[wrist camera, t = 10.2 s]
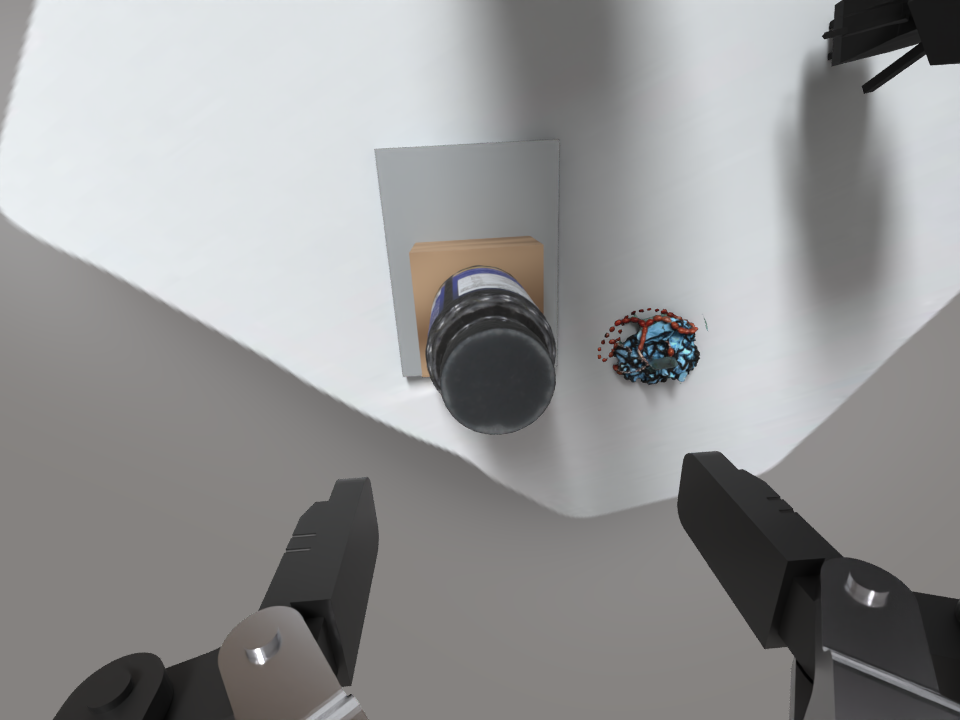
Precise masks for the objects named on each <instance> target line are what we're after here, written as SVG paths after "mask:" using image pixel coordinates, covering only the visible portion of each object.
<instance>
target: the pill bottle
mask: <svg viewBox="0 0 960 720" xmlns="http://www.w3.org/2000/svg"><path fill="white" fill-rule="evenodd" d="M425 357H426V363H427V370H428V373H429V375H430V377H431V380H432V382H433V384H434V386H435V387H436V389H437V390H438V391H439V393H440V394H441V395H442V398H443V401H444V403H445V406H446V407H447V409H448V410H449V412H450V413H451V414H452V416H453V417H454V418H455V419H456V420H457V421H458V422H459V423H461V424H462V425H464V426H465V427H467V428H469V429H471V430H473V431H476V432H480V433H485V434H499V435H501V434H507V433H512V432H515V431H518V430H520V429H522V428H524V427H526V426H528V425H530V424H531V423H533V422H534V421H535V420H536V419H538V417H539V416H540V415H541V414H542V413H543V412H544V411H545V409H546V408H547V406H548V405H549V403H550V401H551V398H552V396H553V392H554V389H555V385H556V381H555V376H556V375H555V369H554V365H555V357H556V342H555V338H554V336H553V333H552V329H551V327H550V325H549V323H548V322H547V320H546V317H545V316H544V315H543V313H542V312H541V311H540V310H539V308H538V307H537V306H536V305H535V303H534V302H533V301H532V299H531V298H530V297H529V295H528V294H527V293H526V291H525V290H524V288H523V287H522V286H521V284H520V283H519V282H518V281H517V280H516V279H515V278H514V277H513V276H512V275H511V274H509V273H507V272H505V271H503V270H502V269H499V268H497V267H491V266H482V265H475V266H471V267H468V268H465V269H462V270H460V271H458V272H457V273H456V274H454V275H452V276H451V277H449V278H448V279H447V280H446V281H445V282H444V283H443V284H442V285H441V287H440V288H439V290H438V292H437V293H436V295H435V298H434V300H433V305H432V309H431V317H430V324H429V331H428V338H427V345H426V350H425Z"/></svg>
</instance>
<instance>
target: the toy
mask: <svg viewBox="0 0 960 720" xmlns="http://www.w3.org/2000/svg"><path fill="white" fill-rule="evenodd" d="M830 28H834V30H833V31H829V32H825V33H824V34H823V36H822V37H823V38H824V39H828V38H832V37H833V51H832V52H831V53H829V54H828V60H831V59H832V66H835V65H839V64H843V63H847V62H851V61H855V60H859V59H863V58H867V57H871V56H875V55H879V54H883V53H887V52H891V51H895V50H898V49H901V48H905V47H908V46H912V45H915V44H918V45H917V46H915V47H914V48H913V49H911V50H910V51H909V52H907V53H906V54H905V55H903V56H902V57H901V58H899V59H898V60H896V61H895V62H894V63H892V64H891V65H890V66H888V67H887V68H886V69H884V70H883V71H882V72H880V73H879V74H878V75H876V76H875V77H873V78H872V79H871V80H869V81H868V82H867V83H865V84H864V85H863V86H862V88H863V93H864V94H865V93H869V92H873V91H875V90H876V89H878V88H879V87H880V86H882V85H883V84H885V83H886V82H887V81H889V80H890V79H892V78H893V77H895V76H896V75H897V74H899V73H900V72H902V71H903V70H904V69H906V68H907V67H909V66H910V65H912V64H913V63H914V62H916V61H917V60H919V59H920V58H922V57H923V56H924V55H927V58H928V61H929V64H930V65H944V64H959V63H960V0H842V1H840V2H839V3H837V4H836V5H835V13H834V20H833V21H831V22H830Z"/></svg>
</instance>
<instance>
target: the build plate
mask: <svg viewBox="0 0 960 720" xmlns="http://www.w3.org/2000/svg"><path fill="white" fill-rule="evenodd" d="M374 150H375V158H376V166H377V174H378V182H379V190H380V198H381V206H382V214H383V222H384V230H385V238H386V246H387V254H388V262H389V270H390V278H391V286H392V294H393V302H394V310H395V318H396V326H397V334H398V342H399V350H400V358H401V366H402V374H403V377H410V376H422V369H421V360H420V351H419V341H418V332H417V323H416V313H415V304H414V295H413V286H412V276H411V267H410V258H409V252H410V251H411V249H412V247H413V246H414V244H415V243H419V242H435V241H452V240H468V239H485V238H501V237H517V236H531V237H533V238H534V239H536V240H537V241H539V242H540V243H542V244H543V245H544V316H545V317H546V320H547V322H548V323H549V325H550V327H551V329H552V333H553V336H554V338H555V342H556V357H555V365H554V366H557V318H558V222H559V139H552V140H533V141H515V142H496V143H477V144H458V145H440V146H421V147H402V148H383V149H374Z"/></svg>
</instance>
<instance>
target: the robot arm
mask: <svg viewBox="0 0 960 720" xmlns="http://www.w3.org/2000/svg"><path fill="white" fill-rule="evenodd" d="M677 507H678V514H679V518H680V521H681V524H682V526H683V528H684V529H685V531H686V532H687V534H688V535H689V537H690V538H691V540H692V541H693V543H694V544H695V546H696V547H697V549H698V550H699V552H700V553H701V555H702V556H703V558H704V559H705V561H706V562H707V564H708V565H709V567H710V568H711V570H712V571H713V573H714V574H715V576H716V577H717V579H718V580H719V582H720V583H721V585H722V586H723V588H724V589H725V591H726V592H727V594H728V595H729V597H730V598H731V600H732V601H733V603H734V604H735V606H736V607H737V608H738V610H739V612H740V613H741V614H742V616H743V617H744V619H745V621H746V622H747V623H748V625H749V627H750V628H751V630H752V631H753V632H754V634H755V635H756V637H757V638H758V640H759V641H760V643H761V644H762V646H763V647H764V649H769V648H780V647H788V648H789V650H790V651H791V652H792V654H793V655H794V659H793V662H792V667H791V685H790V709H789V720H960V599H954V598H948V597H942V596H936V595H930V594H924V593H918V592H912V591H911V590H910V589H909V588H908V587H907V586H906V585H905V584H903V582H902V581H900V580H899V579H898V578H896V577H895V576H893V575H892V574H890V573H889V572H887V571H885V570H883V569H882V568H879V567H877V566H875V565H873V564H870V563H867V562H865V561H862V560H858V559H853V558H845V557H843V556H842V555H841V554H840V553H839V552H838V551H837V550H835V549H834V548H833V547H832V546H831V545H830V544H829V543H828V542H827V541H826V540H825V539H824V538H823V537H822V536H821V535H820V534H819V533H818V532H817V531H816V530H815V529H814V528H812V527H811V526H810V525H809V524H808V523H807V522H806V521H805V520H804V519H803V518H802V517H801V516H800V515H799V514H798V513H797V512H794V511H793V508H792V507H791V506H790V505H788V503H786V502H785V501H784V500H783V499H782V500H781V499H780V496H779V495H778V494H777V493H776V492H775V491H774V490H773V489H772V488H771V487H770V486H769V485H768V484H767V483H766V482H764V481H763V480H761V479H759V478H758V477H756V476H754V475H752V474H750V473H749V472H747V471H745V470H743V469H742V470H738V469H737V468H736V467H735V466H734V465H733V464H732V463H731V462H730V461H729V460H728V459H727V458H726V457H725V456H724V455H723V454H722V453H721V452H718V451H712V452H699V453H688V454H686V455H685V457H684V459H683V465H682V472H681V480H680V487H679V494H678V502H677ZM378 541H379V533H378V524H377V517H376V512H375V506H374V500H373V494H372V488H371V482H370V479H369V478H368V477H364V478H351V479H338V480H337V481H336V483H335V486H334V489H333V491H332V493H331V496H330V499H329V501H323V502H315V503H314V504H313V505H312V506H311V507H310V508H309V509H308V510H307V511H306V513H304V514H303V515H302V516H301V517H300V519H299V521H298V524H297V526H296V528H295V530H294V533H293V537H292V538H291V540H290V542H289V544H288V546H287V548H286V553H284V555H283V557H282V559H281V562H280V564H279V567H278V568H277V571H276V573H275V575H274V577H273V580H272V582H271V584H270V586H269V588H268V591H267V593H266V595H265V598H264V600H263V602H262V604H261V606H260V609H259V610H258V611H257V612H255V613H253V614H251V615H250V616H248V617H247V618H245V619H244V620H242V621H241V622H240V623H239V624H237V626H235V627H234V628H233V629H232V631H231V632H230V633H229V634H228V635H227V637H226V638H225V640H224V642H223V643H222V646H221V647H219V648H218V649H216V650H214V651H211V652H209V653H206V654H203V655H201V656H198V657H196V658H193V659H190V660H187V661H185V662H182V663H179V664H177V665H174V666H171V667H168V668H166V669H165V667H164V665H163V663H162V661H161V659H160V658H159V657H158V656H156V655H154V654H151V653H135V654H131V655H127V656H124V657H122V658H119V659H117V660H114V661H112V662H111V663H109V664H107V665H105V666H103V667H102V668H101V669H99V670H98V671H96V672H94V673H93V674H92V675H91V676H90V677H88V678H87V679H86V680H85V681H83V682H82V683H81V684H80V685H79V686H78V687H77V688H76V689H75V690H74V692H72V694H71V695H70V696H69V697H68V699H67V700H66V701H65V703H64V704H63V706H62V707H61V709H60V710H59V711H58V713H57V714H56V716H55V717H54V719H53V720H369V719H368V718H367V716H366V714H365V712H364V711H363V709H362V707H361V706H360V704H359V702H358V701H357V699H356V698H355V697H354V696H353V695H352V694H350V695H349V696H347V695H346V694H345V692H344V690H343V689H342V687H344V686H351V684H352V679H353V674H354V668H355V664H356V659H357V654H358V649H359V644H360V639H361V634H362V628H363V624H364V618H365V614H366V609H367V603H368V598H369V593H370V588H371V583H372V578H373V573H374V568H375V563H376V558H377V552H378Z"/></svg>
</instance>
